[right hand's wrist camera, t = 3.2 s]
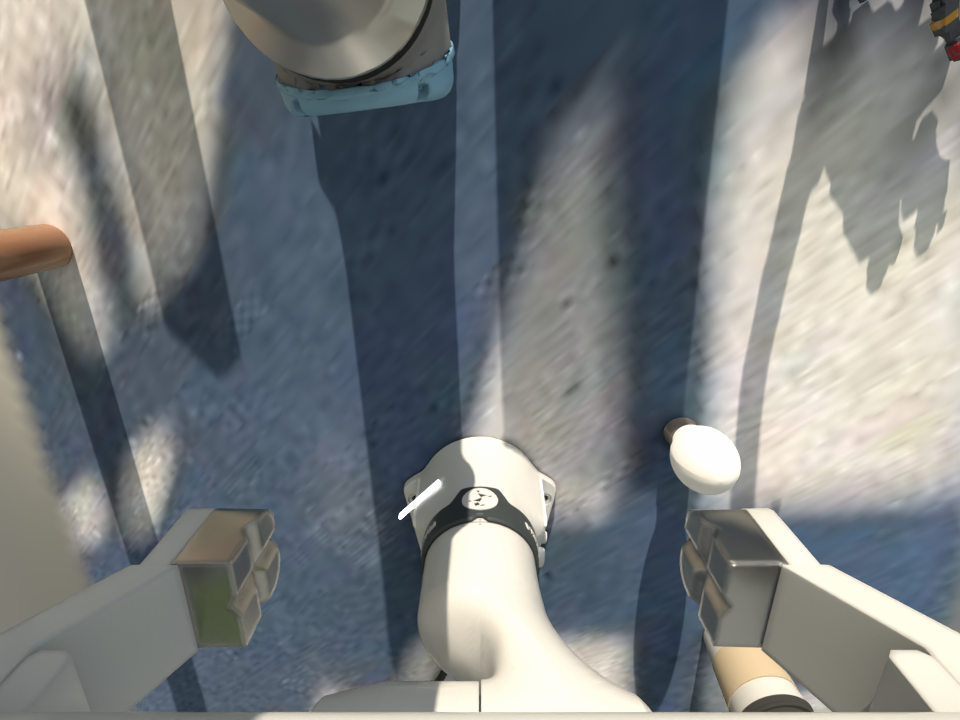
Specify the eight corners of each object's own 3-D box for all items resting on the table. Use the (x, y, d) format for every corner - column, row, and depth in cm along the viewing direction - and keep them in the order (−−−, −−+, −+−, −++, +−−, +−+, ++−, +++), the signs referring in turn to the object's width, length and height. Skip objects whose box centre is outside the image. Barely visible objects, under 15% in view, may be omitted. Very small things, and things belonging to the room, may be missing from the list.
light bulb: (648, 452, 64) (680, 507, 54) (659, 402, 62) (695, 449, 52) (703, 457, 64) (745, 512, 54) (716, 406, 62) (763, 455, 52)
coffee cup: (685, 624, 74) (734, 733, 59) (747, 599, 72) (812, 704, 58) (710, 666, 76) (762, 779, 62) (770, 642, 75) (837, 753, 61)
